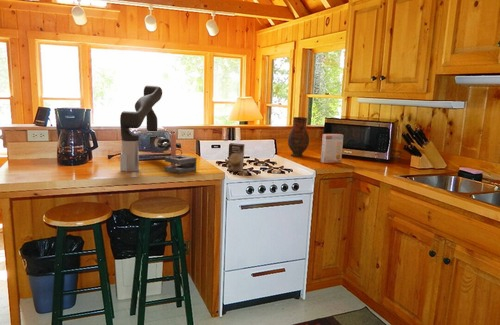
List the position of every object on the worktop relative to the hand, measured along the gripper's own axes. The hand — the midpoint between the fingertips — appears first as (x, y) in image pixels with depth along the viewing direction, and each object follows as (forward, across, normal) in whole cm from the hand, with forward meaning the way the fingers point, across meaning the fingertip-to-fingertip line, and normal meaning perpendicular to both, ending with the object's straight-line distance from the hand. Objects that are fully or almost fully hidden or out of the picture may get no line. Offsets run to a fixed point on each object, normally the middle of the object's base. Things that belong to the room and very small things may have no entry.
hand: (173, 147), depth 228 cm
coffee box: (+24, +29, +12) cm, 40 cm away
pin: (-1, 0, +12) cm, 12 cm away
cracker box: (+32, +108, +12) cm, 113 cm away
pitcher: (0, +106, +12) cm, 106 cm away
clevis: (+13, -3, +12) cm, 18 cm away
